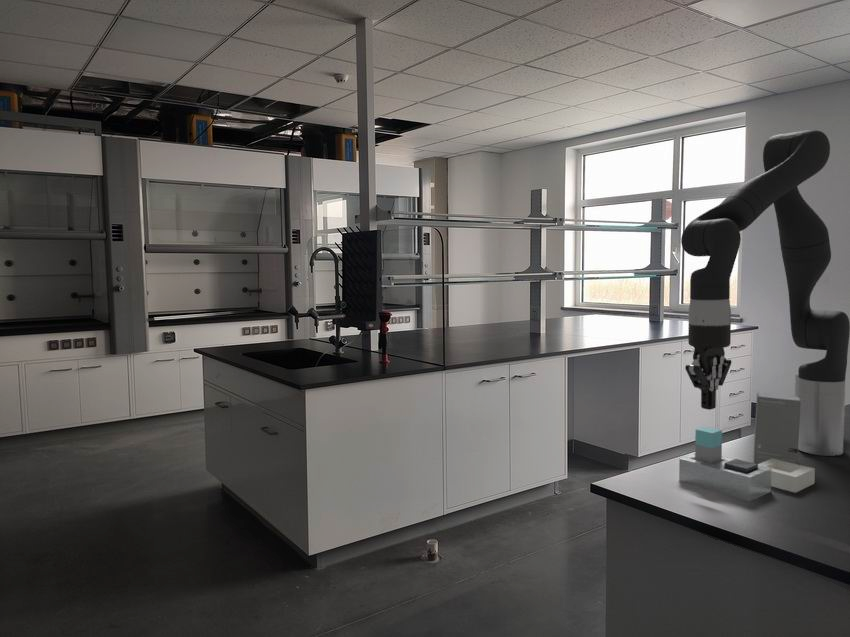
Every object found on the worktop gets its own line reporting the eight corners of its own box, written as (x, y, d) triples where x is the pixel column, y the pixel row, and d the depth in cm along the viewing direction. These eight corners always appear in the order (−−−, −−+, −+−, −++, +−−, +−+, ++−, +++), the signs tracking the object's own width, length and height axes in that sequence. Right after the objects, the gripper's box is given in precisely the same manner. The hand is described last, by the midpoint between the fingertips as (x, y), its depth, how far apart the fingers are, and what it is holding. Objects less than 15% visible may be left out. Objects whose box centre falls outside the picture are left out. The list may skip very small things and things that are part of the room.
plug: (721, 483, 119) (722, 430, 118) (711, 487, 117) (712, 433, 116) (704, 479, 122) (705, 426, 121) (694, 482, 120) (695, 429, 119)
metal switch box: (701, 476, 125) (701, 447, 124) (770, 496, 113) (771, 464, 113) (679, 485, 120) (679, 454, 120) (749, 506, 109) (750, 473, 108)
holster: (771, 477, 124) (772, 458, 123) (814, 488, 117) (814, 468, 117) (752, 485, 119) (752, 466, 119) (795, 497, 113) (795, 477, 112)
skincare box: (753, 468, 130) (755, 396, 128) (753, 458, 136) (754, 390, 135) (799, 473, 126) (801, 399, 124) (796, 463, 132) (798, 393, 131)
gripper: (708, 326, 110) (708, 417, 112) (746, 320, 118) (744, 406, 119) (672, 323, 116) (671, 410, 118) (709, 318, 124) (708, 400, 125)
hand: (708, 408), depth 119 cm, fingers closed
